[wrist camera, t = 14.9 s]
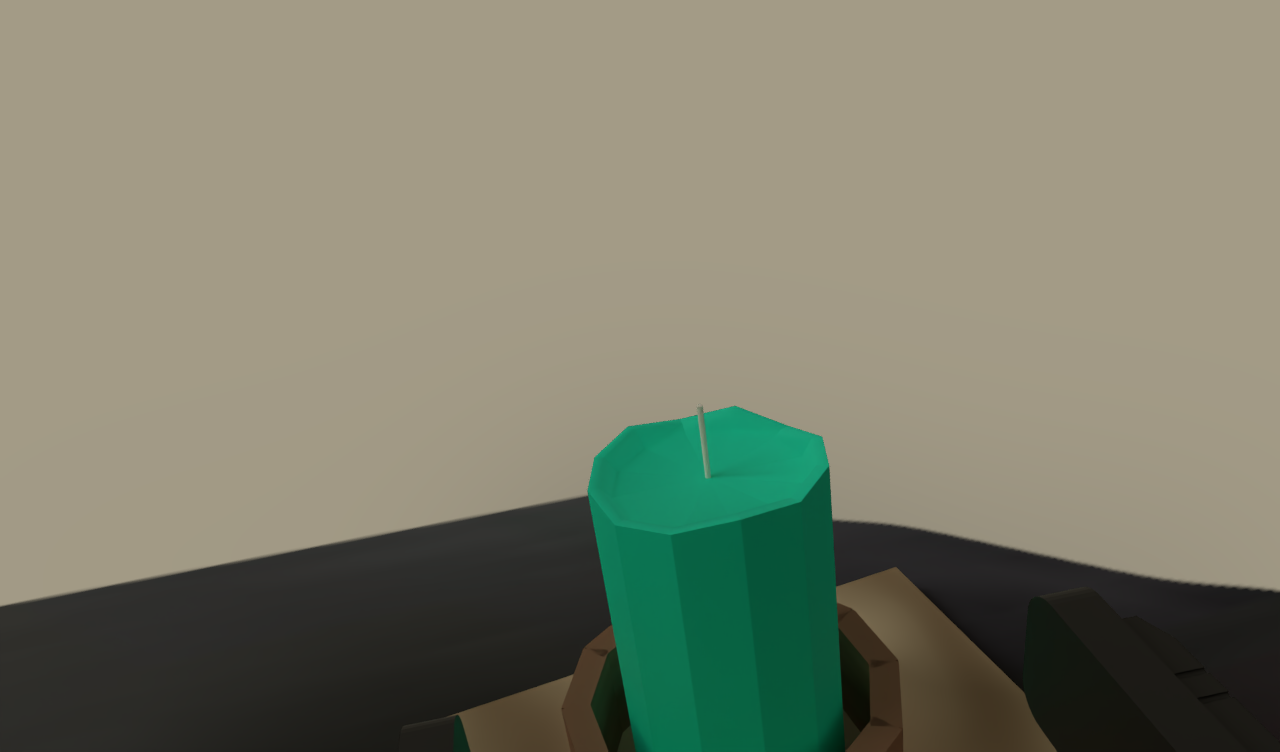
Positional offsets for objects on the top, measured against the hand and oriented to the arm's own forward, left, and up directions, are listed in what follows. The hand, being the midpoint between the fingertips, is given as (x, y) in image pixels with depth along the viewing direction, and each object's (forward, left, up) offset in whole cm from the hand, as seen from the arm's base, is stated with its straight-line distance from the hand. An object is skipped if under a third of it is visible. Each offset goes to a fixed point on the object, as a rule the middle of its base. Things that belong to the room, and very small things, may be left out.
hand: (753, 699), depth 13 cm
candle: (+3, +10, -13) cm, 16 cm away
